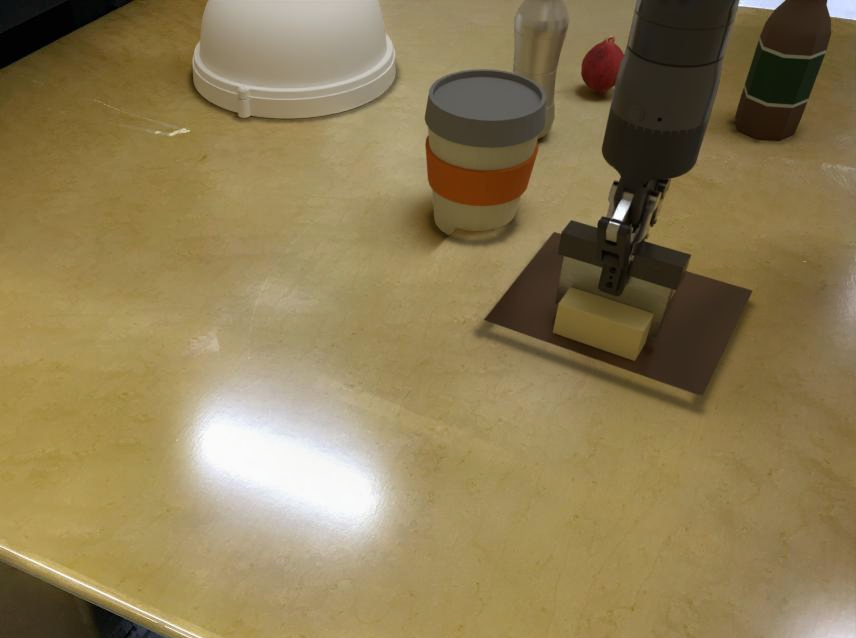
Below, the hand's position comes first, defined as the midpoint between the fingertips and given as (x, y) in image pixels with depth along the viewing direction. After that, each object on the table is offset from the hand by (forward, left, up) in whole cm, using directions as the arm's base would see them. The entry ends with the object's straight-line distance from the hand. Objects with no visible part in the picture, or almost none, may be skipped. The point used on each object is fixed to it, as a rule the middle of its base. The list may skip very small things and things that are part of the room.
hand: (616, 282), depth 83 cm
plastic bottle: (+23, -35, -7) cm, 42 cm away
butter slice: (0, +2, -5) cm, 5 cm away
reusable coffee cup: (+20, -13, -7) cm, 25 cm away
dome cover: (+60, -36, -7) cm, 70 cm away
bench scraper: (0, 0, -4) cm, 4 cm away
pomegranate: (+19, -51, -7) cm, 55 cm away
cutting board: (0, -4, -7) cm, 8 cm away
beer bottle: (-3, -52, -7) cm, 52 cm away
